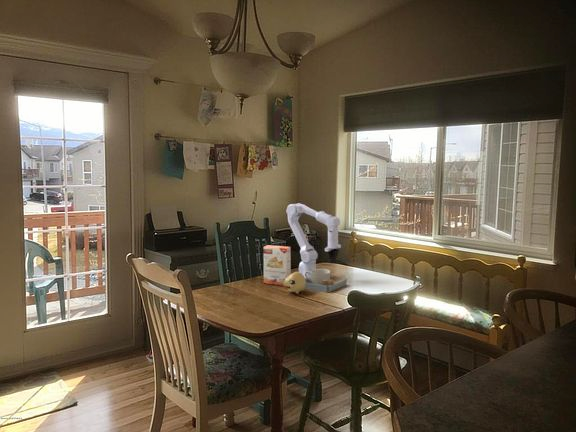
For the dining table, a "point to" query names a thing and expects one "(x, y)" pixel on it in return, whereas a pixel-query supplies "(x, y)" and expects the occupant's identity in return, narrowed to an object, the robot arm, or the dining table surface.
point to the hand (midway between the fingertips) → (333, 262)
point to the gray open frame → (324, 288)
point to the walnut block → (327, 282)
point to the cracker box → (276, 264)
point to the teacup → (318, 275)
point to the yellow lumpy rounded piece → (295, 282)
